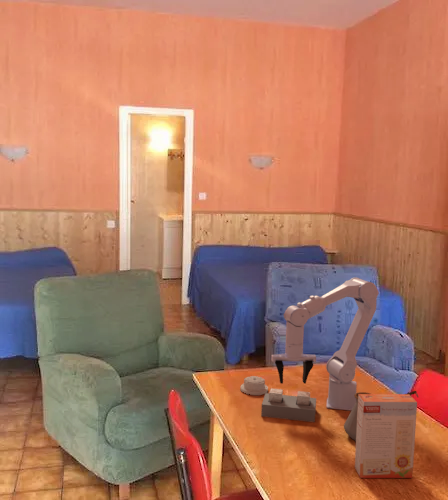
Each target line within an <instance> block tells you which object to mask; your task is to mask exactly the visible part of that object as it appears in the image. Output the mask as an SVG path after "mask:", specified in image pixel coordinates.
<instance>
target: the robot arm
mask: <svg viewBox="0 0 448 500" xmlns="http://www.w3.org/2000/svg"><path fill="white" fill-rule="evenodd" d="M379 294H380V293H379V290H378V288H377V285H376V284H375V283H374V282H371V281H367V280H364V279H362V278H360V277H356V276H354V277H352V278H350V279H349V280H348V279H347V280H345V281H344V283H341V284H340V285H338V286H337V287H335V288H334V289H332V290H330V291H328V292H327V293H325V294H323V295H322V296H319V295H312V294H311V295H310V296H309V298H308V299H306V300H304V301H302V302H299V301H298V302H297V304H296V305H290V306H288V307H287V308H286V309H285V311H284V313H283V318H284V320H285V321H286V326H285V327H286V329H285V350H284V352H285V353H279V354H277V353H276V354H271V358H270V359H271V362H272V363H274V364H275V367H276V369H277V373H278V376H279V377H278V378H279V383H280V384H281V385H282V384H284V369H285V365H284V362H302V383H303V384H307V380H308V377H309V374H310V372H311V371H312V369H313V367H314V363H317V356H316V354H306V353H304V334H305V333H304V332H305V327H304V326H305V325H306V324H307V322H308V320H309V319H312V318H313V317H315V316H317V315H319V314H320V313H323V312H324V311H325V310H326V307H327V306H329V305H331V304H333V303H336V302H338V301H340V300H343V299H345V298H353V299H354V301H355V304H356V305H357V311H356V313H355V315H354V317H353V319H352V322H351V324H350V326H349V328H348V331H347V333H346V336H345V338H344V340H343V342H342V344H341V346H340V348H339V350H337V351H335V352H334V353H333V355H332V356H331V358H329V360H327V362H326V365H325V368H326V372H327V373H328V376H329V377H328V393H327V396H328V397H327V398H326V409H335V410H344V411H350V412H351V411H352V409H353V407H354V405H355V403H356V398H355V396H354V395H355V394H356V393H357V385H358V384H357V381H355V380H354V379H355V376H356V368H357V366H358V363H357V360H356V355H357V353H358V351H359V348H361V345H362V342H363V340H364V339H365V335H366V333H367V331H368V329H369V326H370V324H371V322H372V320H373V318H374V315H375V313H376V310H377V298H378V297H379ZM353 380H354V381H353Z"/></svg>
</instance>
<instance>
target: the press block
mask: <svg viewBox="0 0 448 500" xmlns="http://www.w3.org/2000/svg"><path fill="white" fill-rule="evenodd" d="M316 406H317V398H316V397H310V405H309V406H303V405H297V395H296V396H295V395H288V394H287V395H286V394H283V397H282V403H275V402H269V392H267V393H265V394H264V396H263V400H262V403H261V410H260V411H261V412H260V413H261V414H260V415H261V417H263V418H274V419H275V418H276V419H283V420H284V419H285V420H290V421H291V420H294V421H300V422H301V421H302V422H310V423H315V421H316V411H317V409H316V408H317V407H316Z"/></svg>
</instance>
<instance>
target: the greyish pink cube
mask: <svg viewBox="0 0 448 500" xmlns="http://www.w3.org/2000/svg"><path fill="white" fill-rule="evenodd" d="M268 393H269V402H275V403H282V397H283V395H284V394H283V393H284V391H283V388H282V389H281V388H270V390H269V392H268Z"/></svg>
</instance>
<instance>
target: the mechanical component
mask: <svg viewBox="0 0 448 500" xmlns="http://www.w3.org/2000/svg"><path fill="white" fill-rule="evenodd" d="M239 388H240V392H242V393H243V392H244V394H245V393H246V394H245V395H249V394H250V396H261V395H265V393H269V392H268V391H269V386H268V385H267V384H266V380H265V378H263V377H262V376H257V375H256V376H255V375H251V376H246V377H245V378H244V379H243V383H242V384H241V385H240V387H239Z"/></svg>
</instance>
